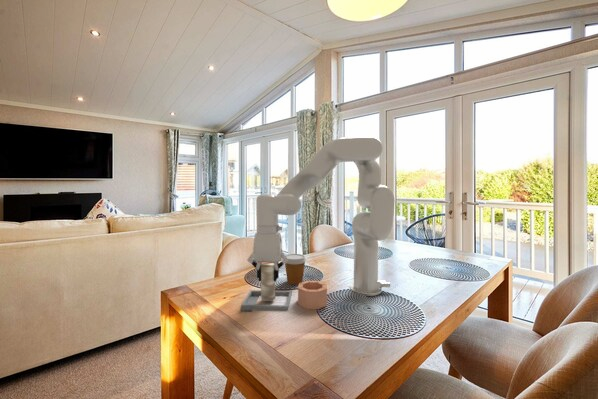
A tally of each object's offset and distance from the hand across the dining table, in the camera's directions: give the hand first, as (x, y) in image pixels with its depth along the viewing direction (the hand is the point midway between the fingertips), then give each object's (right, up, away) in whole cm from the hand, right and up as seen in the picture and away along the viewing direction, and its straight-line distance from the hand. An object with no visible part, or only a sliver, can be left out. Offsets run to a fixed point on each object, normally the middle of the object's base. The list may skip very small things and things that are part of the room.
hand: (267, 279), depth 101 cm
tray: (0, -9, +1) cm, 9 cm away
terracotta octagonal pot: (+16, -9, 0) cm, 18 cm away
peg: (0, -7, 0) cm, 7 cm away
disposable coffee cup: (+9, -8, +20) cm, 23 cm away
